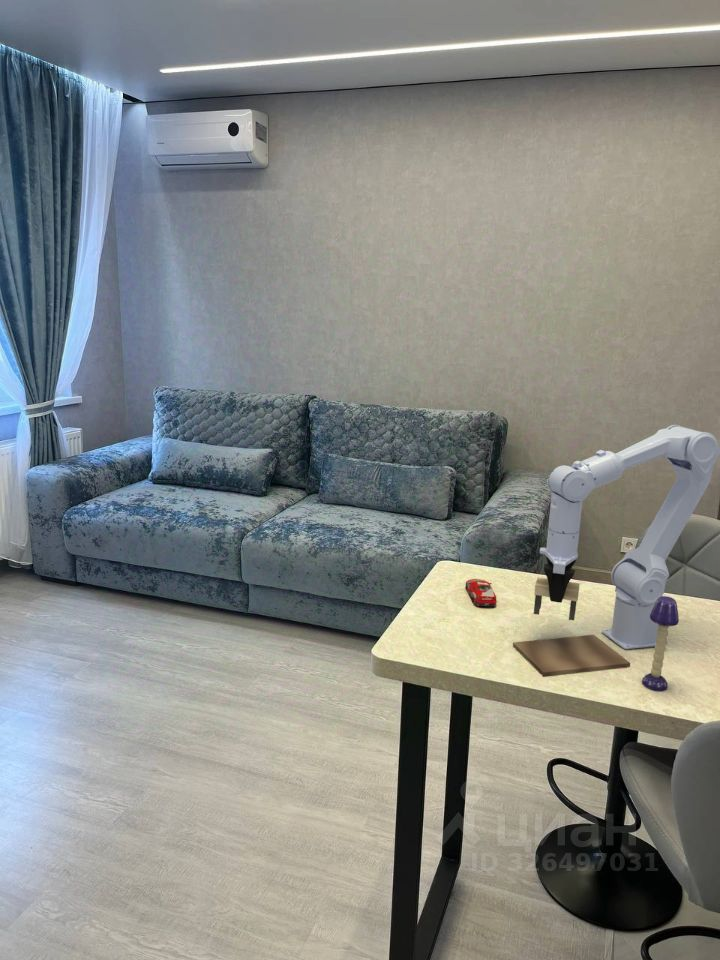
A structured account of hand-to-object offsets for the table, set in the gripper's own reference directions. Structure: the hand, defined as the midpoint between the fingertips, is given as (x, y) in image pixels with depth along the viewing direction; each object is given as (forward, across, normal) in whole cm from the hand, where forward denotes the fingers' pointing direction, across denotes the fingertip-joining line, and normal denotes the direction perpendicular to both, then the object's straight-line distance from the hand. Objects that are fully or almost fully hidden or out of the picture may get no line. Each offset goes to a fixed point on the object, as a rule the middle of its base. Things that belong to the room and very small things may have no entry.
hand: (556, 596), depth 137 cm
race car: (+11, -19, -17) cm, 28 cm away
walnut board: (+10, +3, +4) cm, 12 cm away
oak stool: (+3, 0, 0) cm, 4 cm away
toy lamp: (+11, +9, +18) cm, 23 cm away
